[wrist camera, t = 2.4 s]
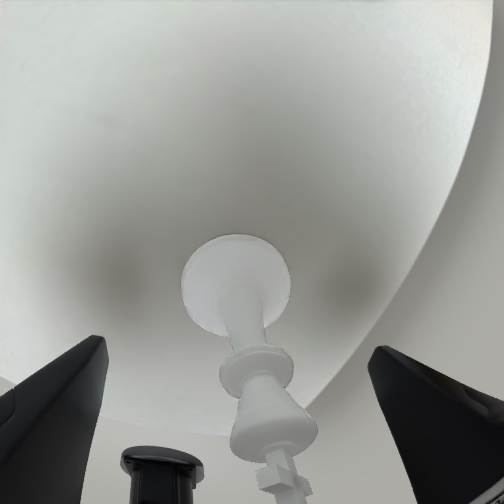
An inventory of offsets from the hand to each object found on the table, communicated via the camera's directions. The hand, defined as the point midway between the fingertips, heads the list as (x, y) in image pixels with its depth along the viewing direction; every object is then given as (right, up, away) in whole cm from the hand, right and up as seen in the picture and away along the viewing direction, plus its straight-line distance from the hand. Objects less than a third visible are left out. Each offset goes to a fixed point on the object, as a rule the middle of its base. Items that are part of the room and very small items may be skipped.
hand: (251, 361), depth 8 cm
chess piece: (-1, +2, +5) cm, 5 cm away
